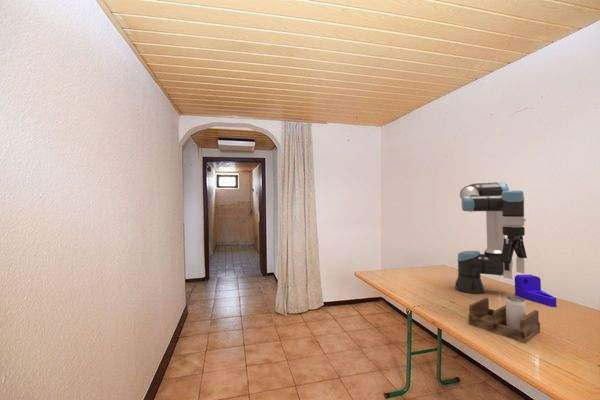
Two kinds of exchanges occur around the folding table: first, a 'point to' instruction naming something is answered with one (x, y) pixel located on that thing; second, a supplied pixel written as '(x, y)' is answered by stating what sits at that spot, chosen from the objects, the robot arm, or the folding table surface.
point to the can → (515, 312)
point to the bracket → (532, 290)
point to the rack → (503, 321)
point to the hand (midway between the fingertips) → (514, 275)
